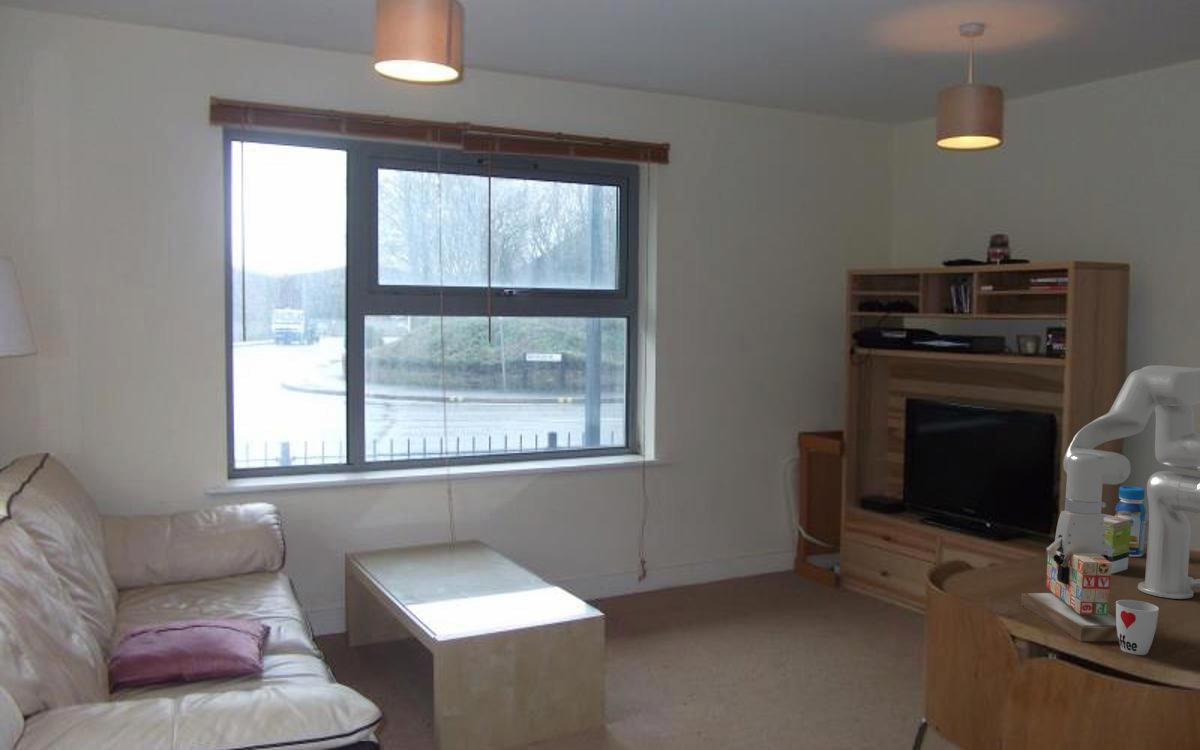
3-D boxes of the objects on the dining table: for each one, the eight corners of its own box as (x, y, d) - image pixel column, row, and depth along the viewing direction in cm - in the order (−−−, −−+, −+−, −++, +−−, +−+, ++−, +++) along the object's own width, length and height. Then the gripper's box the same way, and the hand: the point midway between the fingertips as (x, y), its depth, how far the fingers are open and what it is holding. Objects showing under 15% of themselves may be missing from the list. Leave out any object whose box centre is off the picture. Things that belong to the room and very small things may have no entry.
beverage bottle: (1150, 557, 297) (1154, 490, 296) (1126, 558, 295) (1130, 491, 294) (1129, 549, 306) (1133, 485, 304) (1105, 550, 304) (1109, 485, 302)
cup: (1105, 644, 219) (1108, 599, 218) (1140, 644, 220) (1143, 599, 219) (1127, 657, 211) (1130, 611, 210) (1164, 657, 212) (1167, 611, 211)
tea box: (1059, 562, 289) (1061, 512, 287) (1077, 558, 295) (1080, 508, 293) (1111, 575, 277) (1114, 522, 275) (1129, 569, 283) (1132, 518, 281)
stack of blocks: (1045, 587, 246) (1047, 537, 245) (1071, 588, 245) (1074, 538, 244) (1079, 614, 224) (1083, 560, 223) (1108, 616, 224) (1112, 561, 223)
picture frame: (1071, 604, 248) (1072, 591, 247) (1136, 640, 222) (1137, 626, 222) (1020, 605, 246) (1021, 592, 246) (1080, 641, 221) (1081, 626, 220)
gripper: (1108, 503, 237) (1104, 578, 238) (1038, 503, 235) (1034, 578, 236) (1128, 510, 229) (1123, 587, 231) (1055, 510, 228) (1051, 587, 229)
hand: (1078, 581), depth 233 cm, fingers closed on stack of blocks, 6 cm apart
